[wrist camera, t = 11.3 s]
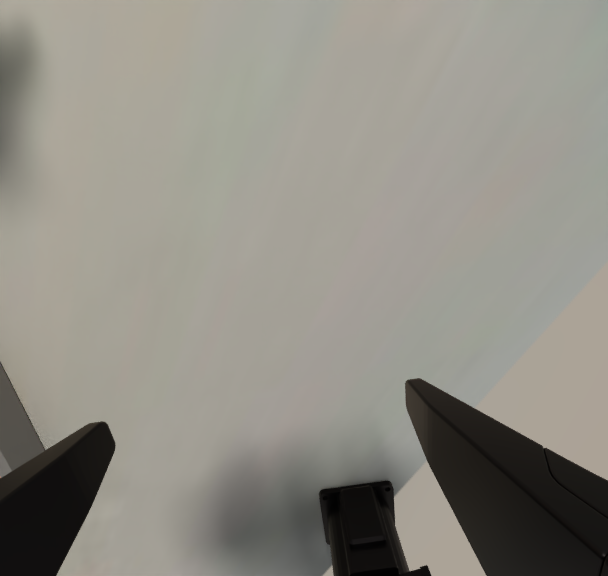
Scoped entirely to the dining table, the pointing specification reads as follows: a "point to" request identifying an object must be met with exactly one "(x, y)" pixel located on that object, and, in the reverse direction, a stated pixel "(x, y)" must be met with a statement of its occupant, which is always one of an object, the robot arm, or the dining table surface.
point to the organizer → (15, 430)
